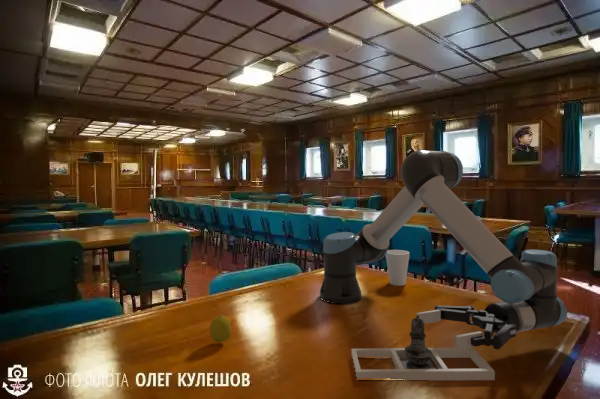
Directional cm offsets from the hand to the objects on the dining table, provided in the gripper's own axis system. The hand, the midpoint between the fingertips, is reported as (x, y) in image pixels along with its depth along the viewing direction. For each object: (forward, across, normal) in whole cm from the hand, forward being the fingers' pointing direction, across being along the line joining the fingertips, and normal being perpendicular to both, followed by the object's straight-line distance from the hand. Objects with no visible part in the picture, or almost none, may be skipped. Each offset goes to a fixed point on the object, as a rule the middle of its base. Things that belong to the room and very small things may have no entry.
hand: (435, 329), depth 81 cm
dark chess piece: (+4, 0, -8) cm, 9 cm away
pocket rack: (+4, 0, -8) cm, 9 cm away
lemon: (+47, +28, -8) cm, 55 cm away
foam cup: (-26, +58, -8) cm, 64 cm away
